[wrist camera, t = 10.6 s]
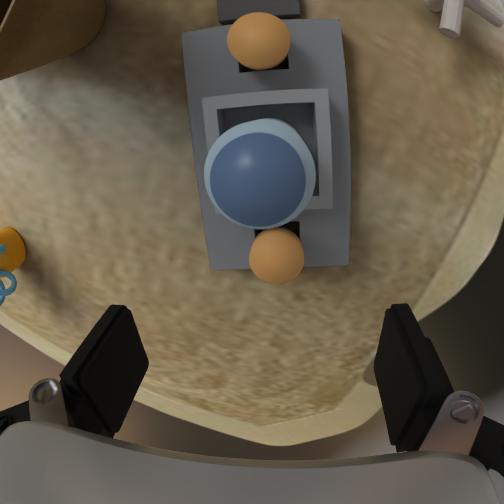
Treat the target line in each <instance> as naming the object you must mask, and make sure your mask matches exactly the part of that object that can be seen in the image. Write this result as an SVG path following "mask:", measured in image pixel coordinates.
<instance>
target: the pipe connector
mask: <svg viewBox="0 0 504 504" xmlns="http://www.w3.org/2000/svg"><path fill="white" fill-rule="evenodd" d="M425 4H426V6H427V7H428V8H429V9H430V10H431V11H433V12H439V11H441V10H442V16H441V21H440V27H439V30H440V32H441V33H442V34H444V35H446V36H448V37H450V38H454V39H458V38H459V37H460V33H461V26H462V19H463V12H464V5H465V6H466V7H468V8H469V9H471V10H472V11H474V12H475V13H477V14H478V15H480V16H481V17H483V18H484V19H486V20H487V21H489V22H490V23H491V24H493V25H494V26H495V27H501V26H502V25H503V23H504V14H503V13H502V12H500V11H499V10H498V9H496V8H495V7H494V6H492V5H491V4H489V3H488V2H487V1H485V0H425Z"/></svg>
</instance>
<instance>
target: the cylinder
mask: <svg viewBox="0 0 504 504" xmlns="http://www.w3.org/2000/svg"><path fill="white" fill-rule="evenodd" d="M25 257H26V250H25V245H24V243H23V240H22V238H21V237H20V235H19V234H18V233H17V232H16V231H15V230H14V229H13V228H10V227H6V228H3V229H2V230H0V278H3V277H8V278H9V279H10V280H11V282H12V284H11V287H10V288H8V289H6V290H5V286H4V284H3V282H2V281H1V280H0V306H1V305H2V304H3V302H4V300H5V296H7V295H10V294H12V293H13V292H14V291H15V289H16V286H17V281H16V278H15V276H14V275H13V274H12V273H11V272H13V271H14V270H15V269H16V268H18V267H19V266H20V265H21V264H23V262H24V261H25Z"/></svg>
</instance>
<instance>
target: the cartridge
mask: <svg viewBox="0 0 504 504" xmlns="http://www.w3.org/2000/svg"><path fill="white" fill-rule="evenodd" d="M204 181H205V186H206V190H207V193H208V195H209V197H210V199H211V201H212V203H213V204H214V206H215V207H216V208H217V209H218V211H219V212H220V213H221V214H223V215H224V216H225V217H226V218H228V219H229V220H230V221H232V222H234V223H236V224H238V225H241V226H244V227H247V228H253V229H270V228H275V227H278V226H281V225H284V224H286V223H288V222H290V221H291V220H293V219H294V218H295V217H297V216H298V215H299V214H300V213H301V212H302V211H303V210H304V208H305V207H306V206H307V204H308V203H309V201H310V199H311V197H312V194H313V191H314V188H315V182H316V171H315V165H314V161H313V158H312V155H311V153H310V151H309V149H308V148H307V146H306V144H305V143H304V141H303V140H302V138H301V137H300V135H299V134H298V132H297V131H296V130H295V128H294V127H293V126H292V125H291V124H289V123H288V122H286V121H284V120H282V119H278V118H263V119H258V120H254V121H250V122H246V123H242V124H239V125H237V126H234V127H232V128H231V129H229V130H227V131H226V132H225V133H223V134H222V135H221V136H220V137H219V138H218V139H217V140H216V141H215V143H214V144H213V146H212V147H211V149H210V151H209V153H208V156H207V158H206V162H205V167H204Z"/></svg>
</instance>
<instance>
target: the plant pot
mask: <svg viewBox="0 0 504 504" xmlns="http://www.w3.org/2000/svg"><path fill="white" fill-rule="evenodd" d="M105 15H106V6H105V2H104V0H0V80H3V79H6V78H9V77H11V76H14V75H17V74H20V73H23V72H25V71H28V70H31V69H34V68H37V67H39V66H42V65H44V64H47V63H50V62H52V61H55V60H57V59H60V58H62V57H65V56H67V55H69V54H72V53H74V52H76V51H78V50H81V49H82V48H84V47H85V46H87V45H88V44H89V43H90V42H91V41H92V40H93V39H94V38H95V37H96V36H97V34H98V33H99V31H100V29H101V27H102V25H103V23H104V20H105Z"/></svg>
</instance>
